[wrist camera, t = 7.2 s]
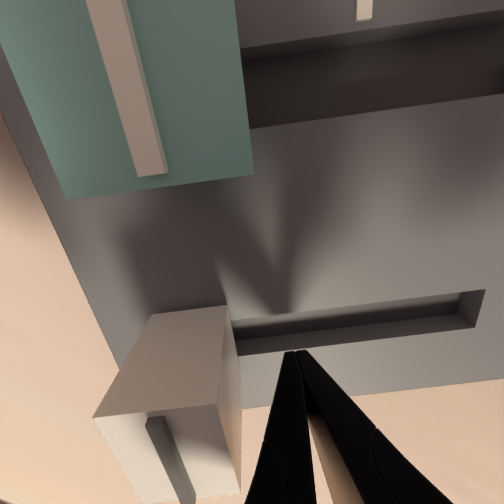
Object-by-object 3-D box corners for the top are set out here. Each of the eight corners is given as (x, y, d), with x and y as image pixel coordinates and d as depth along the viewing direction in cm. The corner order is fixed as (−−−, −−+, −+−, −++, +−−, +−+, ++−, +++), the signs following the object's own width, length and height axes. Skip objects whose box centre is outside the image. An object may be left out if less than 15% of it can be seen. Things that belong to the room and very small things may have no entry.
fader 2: (228, 291, 10) (215, 411, 5) (242, 360, 12) (240, 502, 7) (160, 299, 10) (87, 426, 6) (182, 367, 12) (139, 513, 7)
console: (668, -141, 7) (838, -259, 5) (500, 344, 14) (543, 376, 12) (-9, -33, 7) (-102, -102, 5) (156, 385, 14) (142, 422, 12)
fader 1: (230, 16, 7) (197, -320, 2) (248, 163, 8) (254, 174, 4) (127, 31, 7) (-144, -256, 2) (164, 175, 8) (57, 202, 4)
